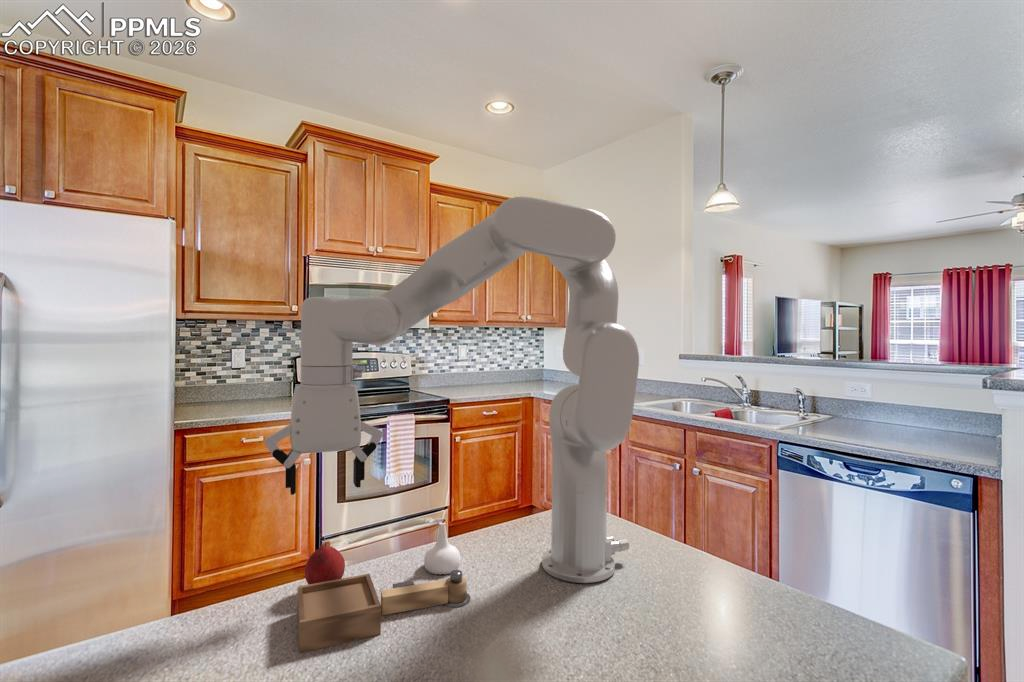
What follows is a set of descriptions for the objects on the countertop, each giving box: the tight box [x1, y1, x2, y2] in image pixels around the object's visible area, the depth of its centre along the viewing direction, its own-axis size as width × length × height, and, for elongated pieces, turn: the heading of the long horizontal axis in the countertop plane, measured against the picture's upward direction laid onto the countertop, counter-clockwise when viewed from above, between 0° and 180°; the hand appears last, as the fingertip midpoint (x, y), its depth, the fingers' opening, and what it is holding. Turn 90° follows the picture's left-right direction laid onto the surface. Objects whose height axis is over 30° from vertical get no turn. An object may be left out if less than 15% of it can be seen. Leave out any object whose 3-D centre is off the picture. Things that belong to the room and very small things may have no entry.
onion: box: [304, 539, 346, 585], centre depth 78 cm, size 6×6×8 cm
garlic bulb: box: [423, 522, 462, 576], centre depth 87 cm, size 6×6×8 cm
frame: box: [392, 569, 471, 608], centre depth 75 cm, size 11×5×4 cm, turn 115°
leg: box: [380, 576, 468, 616], centre depth 74 cm, size 13×3×2 cm, turn 111°
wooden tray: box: [296, 573, 382, 654], centre depth 69 cm, size 10×10×4 cm
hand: (325, 488), depth 78 cm, fingers open, 9 cm apart
